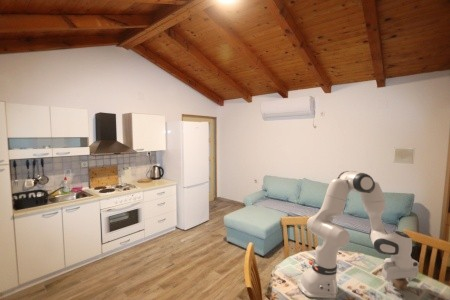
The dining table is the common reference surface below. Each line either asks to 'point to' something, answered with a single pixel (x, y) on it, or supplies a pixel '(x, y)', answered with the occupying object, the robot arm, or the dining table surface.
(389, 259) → the die
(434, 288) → the dining table surface
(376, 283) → the dining table surface
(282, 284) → the dining table surface
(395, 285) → the walnut block
